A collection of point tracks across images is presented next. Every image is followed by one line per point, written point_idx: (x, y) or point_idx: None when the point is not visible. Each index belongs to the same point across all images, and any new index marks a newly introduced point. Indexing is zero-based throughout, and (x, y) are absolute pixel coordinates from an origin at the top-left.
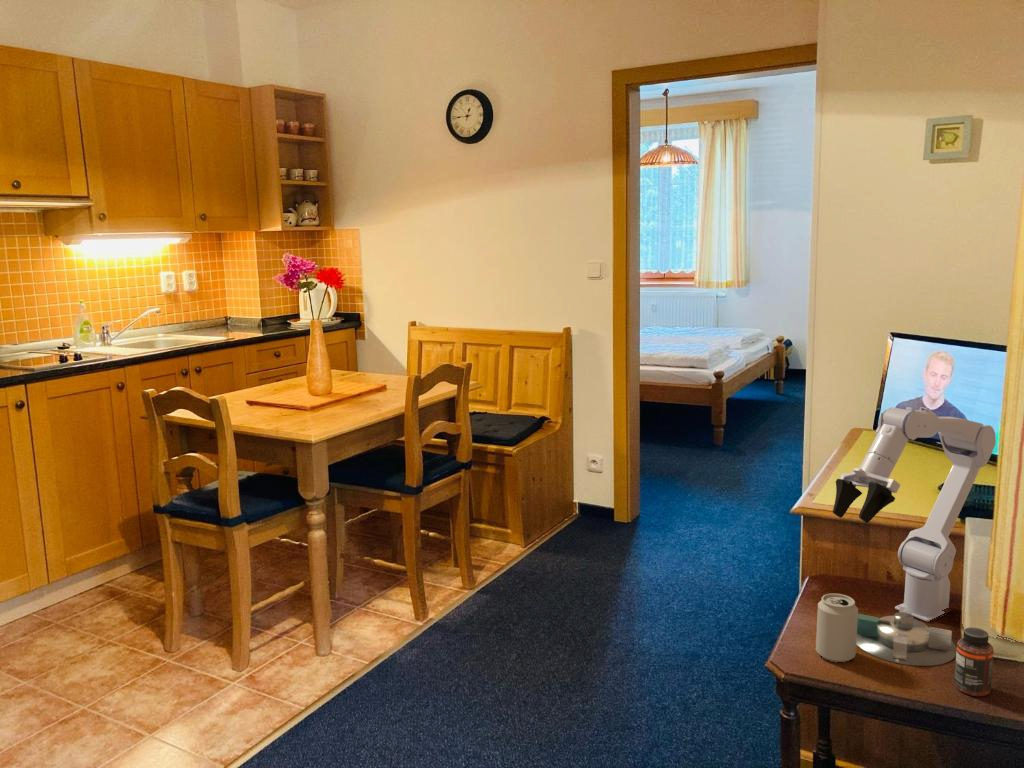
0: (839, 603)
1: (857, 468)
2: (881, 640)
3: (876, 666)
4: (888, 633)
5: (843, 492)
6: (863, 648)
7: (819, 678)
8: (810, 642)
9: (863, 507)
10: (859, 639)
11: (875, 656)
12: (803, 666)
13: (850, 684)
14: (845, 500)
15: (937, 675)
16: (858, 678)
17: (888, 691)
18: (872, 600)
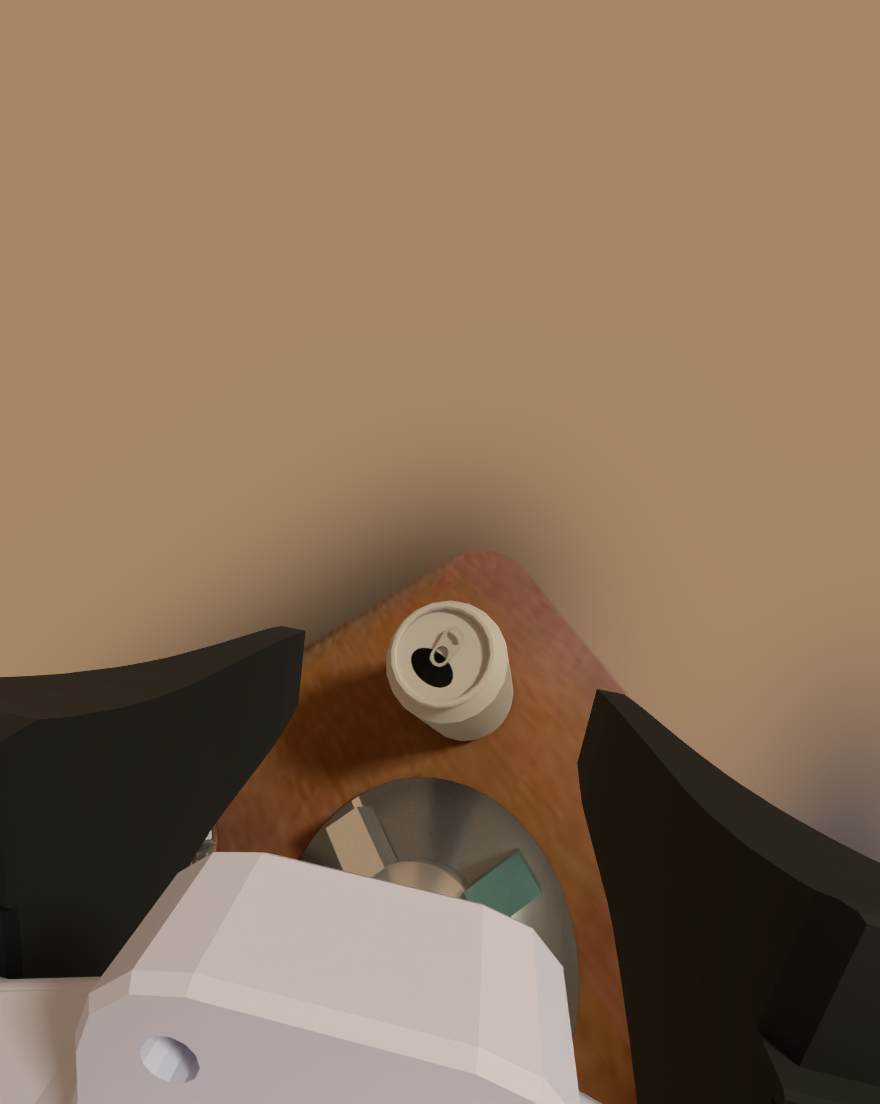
0: (483, 713)
1: (293, 983)
2: (437, 861)
3: (377, 736)
4: (407, 862)
5: (683, 845)
6: (448, 786)
7: (415, 583)
8: (546, 691)
9: (248, 647)
10: (490, 825)
11: (407, 779)
12: (467, 589)
13: (364, 619)
14: (639, 860)
15: (264, 834)
16: (369, 652)
17: (303, 664)
18: None
